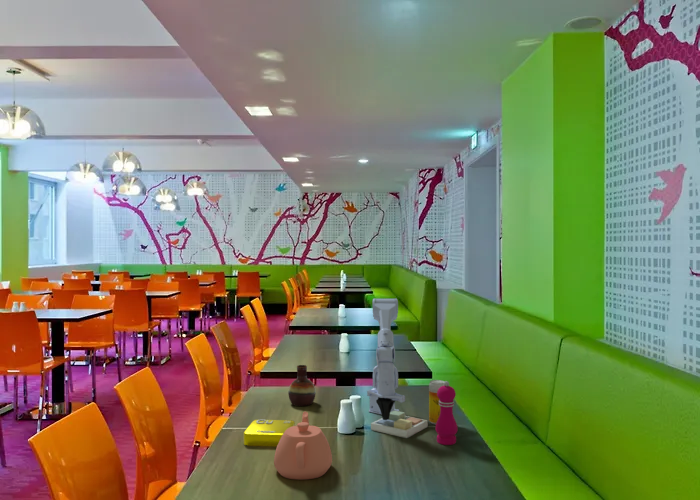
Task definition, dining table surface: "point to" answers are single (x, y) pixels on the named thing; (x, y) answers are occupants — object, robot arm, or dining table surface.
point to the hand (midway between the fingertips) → (385, 419)
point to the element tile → (266, 432)
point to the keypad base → (398, 431)
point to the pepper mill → (446, 416)
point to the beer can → (434, 400)
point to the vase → (302, 388)
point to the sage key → (396, 415)
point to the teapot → (303, 452)
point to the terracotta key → (414, 420)
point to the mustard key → (403, 424)
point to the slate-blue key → (386, 422)
